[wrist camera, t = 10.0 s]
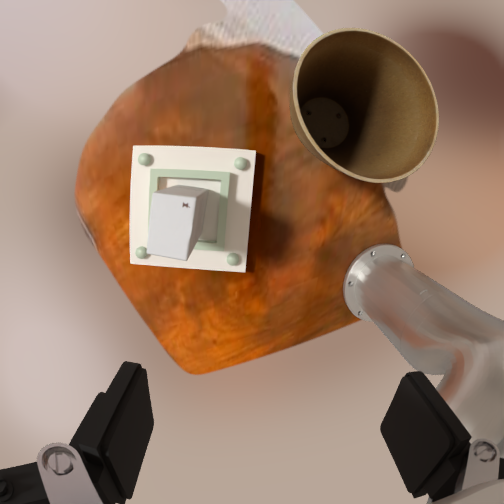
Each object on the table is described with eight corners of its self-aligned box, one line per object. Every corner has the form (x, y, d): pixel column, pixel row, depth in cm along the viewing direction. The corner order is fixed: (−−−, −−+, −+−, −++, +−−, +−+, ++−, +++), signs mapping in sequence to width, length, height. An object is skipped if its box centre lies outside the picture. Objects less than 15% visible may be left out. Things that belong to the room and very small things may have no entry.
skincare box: (177, 183, 37) (152, 189, 25) (209, 188, 37) (198, 196, 26) (170, 229, 38) (144, 254, 27) (202, 235, 39) (188, 262, 27)
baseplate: (255, 151, 38) (256, 150, 35) (244, 268, 42) (245, 275, 39) (136, 146, 36) (130, 145, 34) (133, 260, 40) (127, 266, 38)
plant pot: (265, 171, 38) (286, 171, 23) (273, 67, 35) (296, 12, 19) (369, 183, 40) (436, 194, 24) (374, 86, 36) (437, 55, 20)
